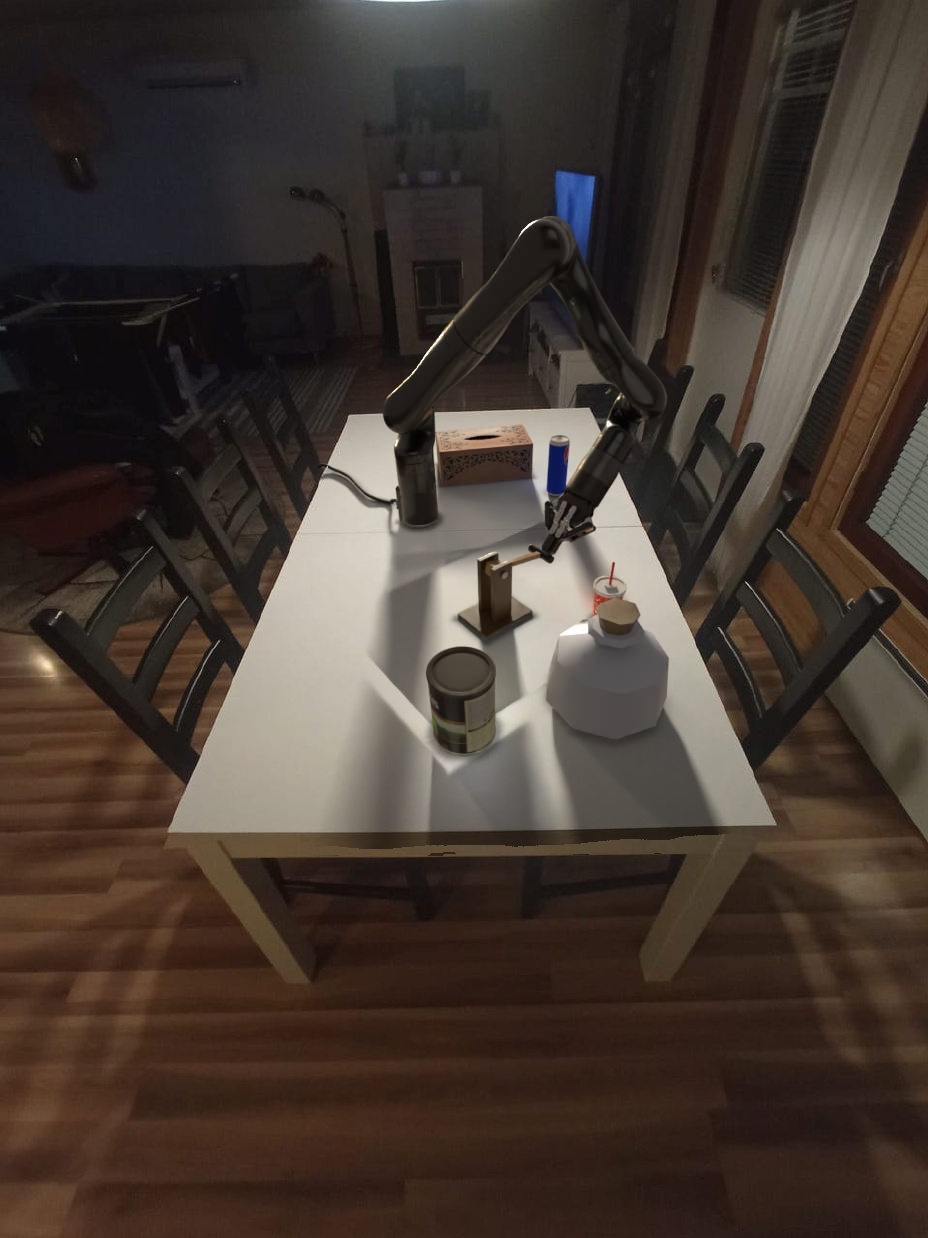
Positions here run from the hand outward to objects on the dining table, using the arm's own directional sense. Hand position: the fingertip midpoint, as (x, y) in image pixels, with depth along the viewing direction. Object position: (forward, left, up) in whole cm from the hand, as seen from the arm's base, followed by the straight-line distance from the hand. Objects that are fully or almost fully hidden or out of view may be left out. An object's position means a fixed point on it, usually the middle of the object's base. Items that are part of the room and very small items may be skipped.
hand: (545, 553), depth 112 cm
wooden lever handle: (-3, -7, 0) cm, 8 cm away
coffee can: (+2, -40, -10) cm, 41 cm away
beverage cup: (+14, -4, -10) cm, 18 cm away
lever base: (-6, -12, -10) cm, 16 cm away
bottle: (+20, -23, -10) cm, 32 cm away
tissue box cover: (-38, +47, -10) cm, 61 cm away
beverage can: (-14, +43, -10) cm, 46 cm away
